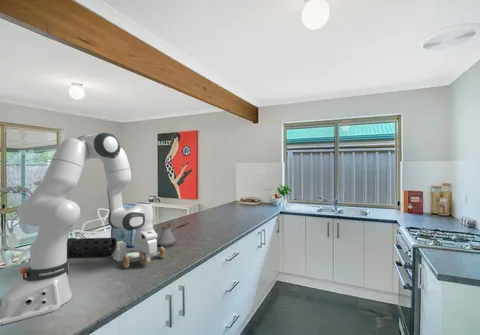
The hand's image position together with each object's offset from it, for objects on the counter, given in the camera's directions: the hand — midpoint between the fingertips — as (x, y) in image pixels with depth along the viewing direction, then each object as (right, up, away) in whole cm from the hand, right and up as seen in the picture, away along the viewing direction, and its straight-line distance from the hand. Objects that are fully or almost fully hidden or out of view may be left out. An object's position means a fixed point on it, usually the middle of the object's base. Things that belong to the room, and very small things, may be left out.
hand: (144, 259), depth 132 cm
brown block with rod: (0, -2, 0) cm, 2 cm away
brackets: (-11, -2, +11) cm, 15 cm away
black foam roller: (-37, -3, +11) cm, 39 cm away
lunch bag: (-23, -3, +36) cm, 43 cm away
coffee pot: (+8, -2, +29) cm, 30 cm away
